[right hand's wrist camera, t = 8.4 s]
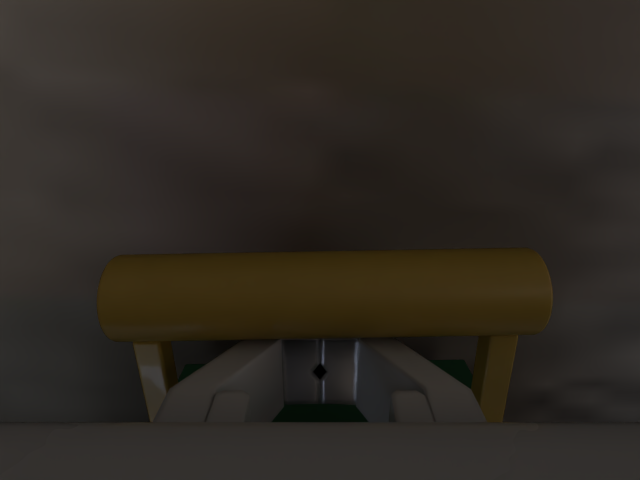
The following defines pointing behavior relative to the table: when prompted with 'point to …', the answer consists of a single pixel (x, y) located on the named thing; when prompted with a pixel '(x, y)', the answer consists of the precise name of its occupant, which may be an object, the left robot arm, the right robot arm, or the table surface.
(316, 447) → the right robot arm
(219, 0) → the table surface
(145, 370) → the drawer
